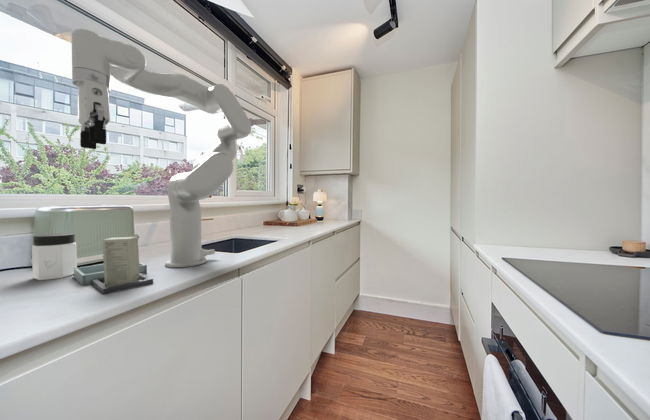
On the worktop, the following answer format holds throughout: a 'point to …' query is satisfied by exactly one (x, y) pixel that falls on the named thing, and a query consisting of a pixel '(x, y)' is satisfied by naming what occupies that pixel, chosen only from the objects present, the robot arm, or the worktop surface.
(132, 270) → the skincare box
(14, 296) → the worktop surface
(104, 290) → the dark grey rectangular frame
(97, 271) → the tray
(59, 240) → the jar
